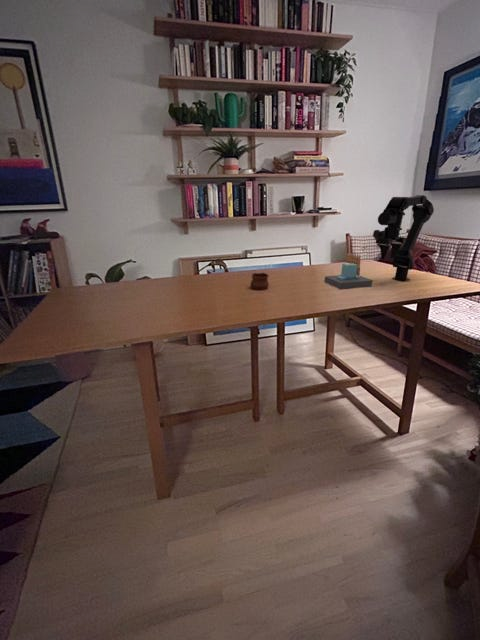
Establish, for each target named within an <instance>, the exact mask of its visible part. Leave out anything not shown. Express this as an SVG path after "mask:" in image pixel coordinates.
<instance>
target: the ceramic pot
mask: <svg viewBox="0 0 480 640" xmlns="http://www.w3.org/2000/svg"><path fill="white" fill-rule="evenodd" d="M268 278H269V274H268V273H265V272H260V273H257V272H256V273H255V272H254V273H252V274H251V281H250V287H251V290H255V291H266V290H267V291H268V289H269V284H270V283H269V281H268Z"/></svg>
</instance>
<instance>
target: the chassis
mask: <svg viewBox="0 0 480 640" xmlns="http://www.w3.org/2000/svg"><path fill="white" fill-rule="evenodd" d="M337 276H341V274H340V275H326V276H324V281H323V282H324V283H325V284H328V285H330V286H332V287H334V288H336V289H339V290H347V289H359V288H369V287H371V288H372V286H373V281H374V280H373V279H369V278H367V277H364V276H361V275H360V274H359V275H357V276H360V278H358V279H354V280H340V279H338V278H336V277H337Z"/></svg>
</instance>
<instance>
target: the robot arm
mask: <svg viewBox="0 0 480 640" xmlns="http://www.w3.org/2000/svg"><path fill="white" fill-rule="evenodd" d="M409 207H411V210H412V212H413V213H412V218H413V222H412V224H411V227H410V228H409V231H408V233H407V235H406V237H404V236H400V233H401V231H402V230H403V227H402V223H403V218H404V216H406V212H404V211H405V210H407V209H409ZM434 211H435V209H434V206H433V203H432V202H431V201H430V200H429V199H428V198H427V196H426V195H424V194H423V195H420V194H418V195H417V194H416V195H413V196H392V197H391V199H390V200H389V202H388V203H387V205H386V207H385V208H384V209H383V212H381V213H379V215H378V216H377V222H378V224H379V225H380V226H385V227H384V229H383V230H379V229H376V230H375V229H374V231H373V234H372V237H373V238H374V240H375V244H376V245H377V246H378V247H379V248H380V256H381V257H380V258H381V260H385V259H386V257H387V255H388V253H389V251H390V249H391V251H390V258H391V259H392V268H396V269H395V275H394V277H392V278H391V279H392V280H396V281H400V282H405V281H410V278H408V274H409V271H410V270H413V269H414V268H415V263H414V261H413V258H414V254H413V249H414V247H415V245H416V242H417V240H418V238H419V235H420V234H421V231H422V228H423V225H425V223H427V222H428V221H429V220H430V219H431V217H432V215H433V214H434Z"/></svg>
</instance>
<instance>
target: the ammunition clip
mask: <svg viewBox="0 0 480 640" xmlns="http://www.w3.org/2000/svg"><path fill="white" fill-rule="evenodd" d="M345 263H354V264H357V265H358V268H357V275H359V276H360V275H361V274H360V273H361V254H356V253H352V252H348V253H347V256H346V260H345Z"/></svg>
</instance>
